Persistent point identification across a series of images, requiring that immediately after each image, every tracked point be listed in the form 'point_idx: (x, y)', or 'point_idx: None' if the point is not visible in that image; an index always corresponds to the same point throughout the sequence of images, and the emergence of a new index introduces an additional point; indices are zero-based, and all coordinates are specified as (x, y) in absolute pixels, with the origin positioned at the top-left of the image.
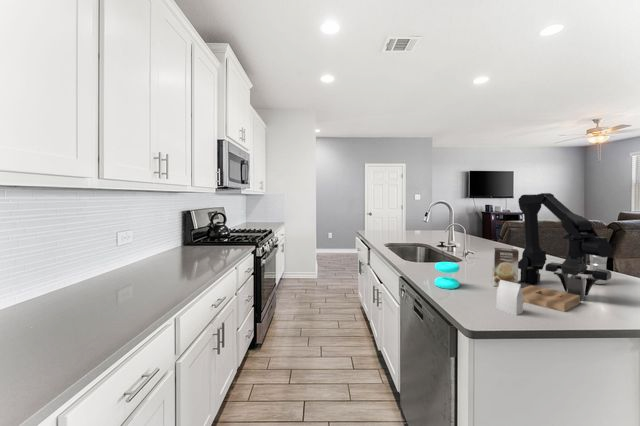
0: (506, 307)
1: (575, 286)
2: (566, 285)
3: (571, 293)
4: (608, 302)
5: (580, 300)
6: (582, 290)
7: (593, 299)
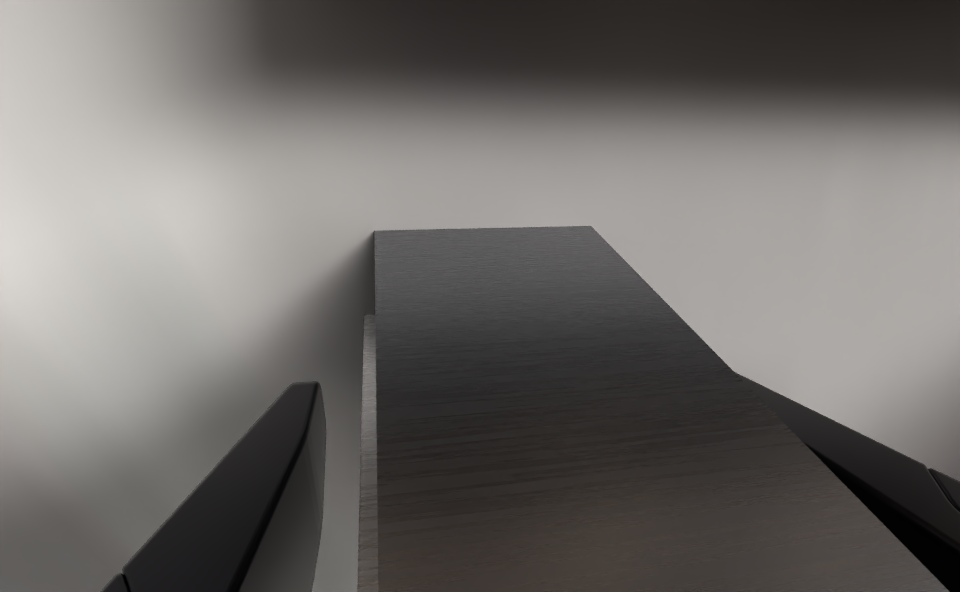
0: None
1: (546, 428)
2: None
3: (563, 284)
4: (78, 511)
5: (375, 244)
6: (370, 452)
7: None
